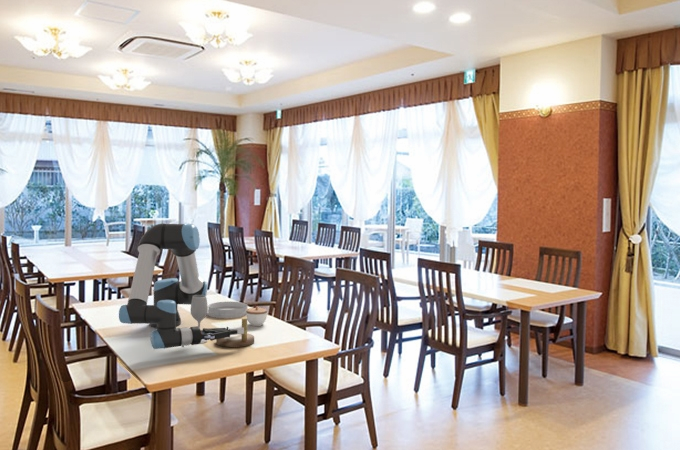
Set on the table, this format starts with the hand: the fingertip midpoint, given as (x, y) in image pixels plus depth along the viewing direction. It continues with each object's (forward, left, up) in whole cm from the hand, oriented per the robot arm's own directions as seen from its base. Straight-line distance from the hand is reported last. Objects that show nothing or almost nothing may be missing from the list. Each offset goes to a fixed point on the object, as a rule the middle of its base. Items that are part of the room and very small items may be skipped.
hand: (243, 330), depth 235 cm
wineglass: (-17, -14, -8) cm, 24 cm away
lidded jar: (-34, +22, -8) cm, 41 cm away
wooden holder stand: (-8, 0, -7) cm, 11 cm away
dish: (-64, +18, -8) cm, 67 cm away
